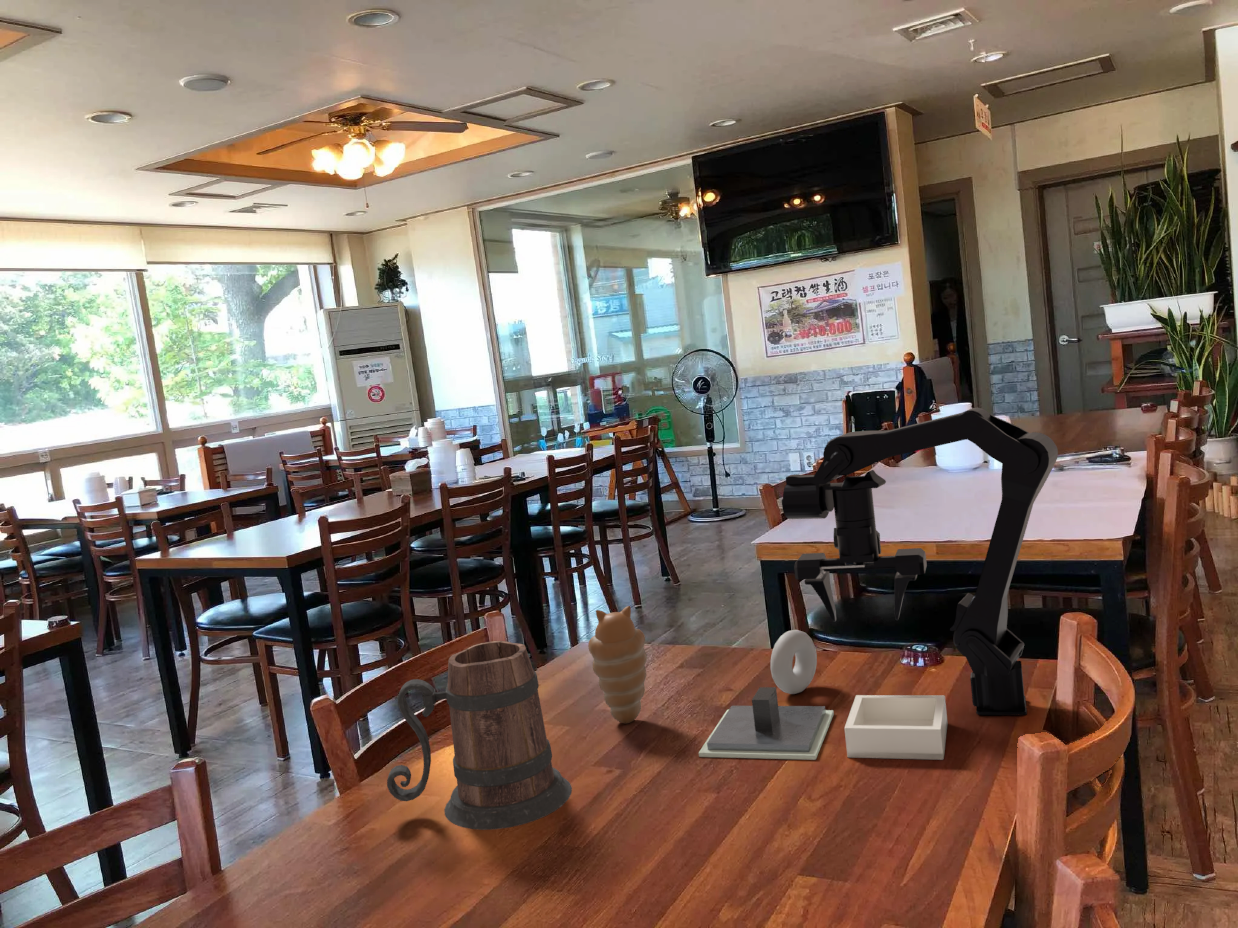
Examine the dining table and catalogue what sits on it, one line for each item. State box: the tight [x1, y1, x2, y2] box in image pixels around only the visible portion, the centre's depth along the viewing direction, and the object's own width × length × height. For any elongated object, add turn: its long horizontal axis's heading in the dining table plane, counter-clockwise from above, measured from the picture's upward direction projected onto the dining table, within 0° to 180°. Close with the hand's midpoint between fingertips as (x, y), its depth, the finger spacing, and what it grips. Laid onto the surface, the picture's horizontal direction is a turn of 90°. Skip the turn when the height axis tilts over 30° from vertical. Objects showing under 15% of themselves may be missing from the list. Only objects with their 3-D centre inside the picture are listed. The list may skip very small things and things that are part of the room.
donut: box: [770, 629, 818, 695], centre depth 155 cm, size 10×3×10 cm, turn 135°
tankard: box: [386, 640, 573, 831], centre depth 129 cm, size 24×17×20 cm
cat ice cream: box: [587, 605, 648, 724], centre depth 151 cm, size 9×8×18 cm
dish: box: [844, 694, 949, 761], centre depth 133 cm, size 12×12×4 cm
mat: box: [698, 708, 835, 761], centre depth 140 cm, size 16×16×1 cm
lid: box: [707, 686, 826, 752], centre depth 140 cm, size 14×14×6 cm
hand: (865, 619), depth 148 cm, fingers open, 9 cm apart
